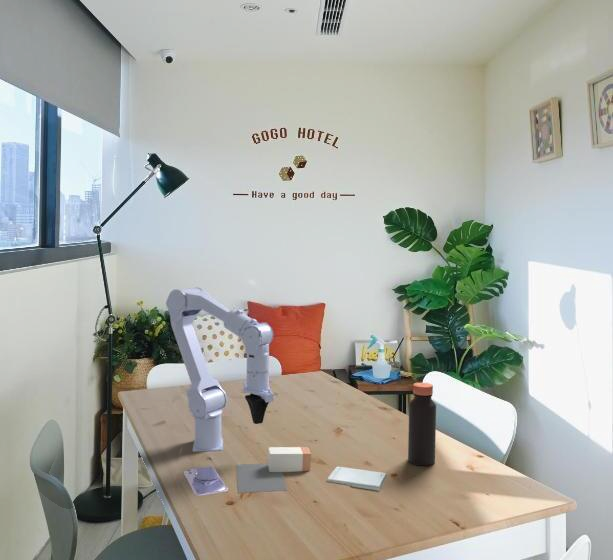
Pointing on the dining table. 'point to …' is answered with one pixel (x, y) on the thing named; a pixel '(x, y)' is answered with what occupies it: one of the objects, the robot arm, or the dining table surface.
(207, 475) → the mobile phone
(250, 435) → the dining table surface
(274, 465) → the block
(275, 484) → the mat
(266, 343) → the robot arm
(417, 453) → the bottle
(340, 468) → the hard drive
